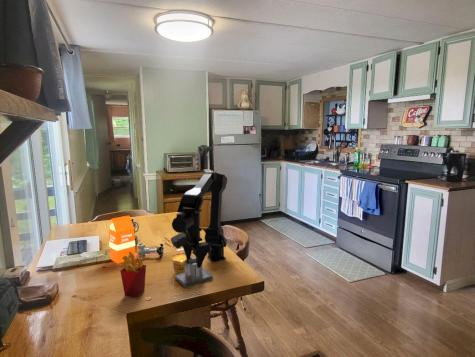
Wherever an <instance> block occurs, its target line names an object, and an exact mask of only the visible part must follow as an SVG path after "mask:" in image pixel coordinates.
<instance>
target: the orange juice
mask: <svg viewBox="0 0 475 357" xmlns="http://www.w3.org/2000/svg"><path fill="white" fill-rule="evenodd" d="M108 227H109V228H108V239H109V240H108V242H109V244H108V245H109V255H110V256H109V257H110V258H111V259H110V260H111V261H113V262H115V263H116V264H122V263H124V260H123V259H122V258H123V257H124V256H127V257H128V255H130V254H129V252H131V253H132V254H133V255H134V257H135V258H136V259H137V255H136V254H137V253H136V240H135V236H136V235H135V227H134V224H133V222H132V218H131V216H130V215H125V216H119V217H113V218H111V220H110V223H109V226H108ZM130 260H131V258H130ZM131 261H132V260H131Z"/></svg>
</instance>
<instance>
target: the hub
mask: <svg viewBox="0 0 475 357" xmlns="http://www.w3.org/2000/svg"><path fill="white" fill-rule="evenodd" d="M202 268H203V264H202V265H201V267H200V268H197V263H196V257H190V258H189V259H187V258H186V259H185V260H184V273H185V277H186V278H187V279H198V278H201V277H202V275H203V271H202Z"/></svg>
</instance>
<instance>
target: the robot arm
mask: <svg viewBox="0 0 475 357" xmlns="http://www.w3.org/2000/svg"><path fill="white" fill-rule="evenodd" d="M227 184H228V177H227V176H226V175H225V173H224V174H223V173H218V172H216V171H212V170H210V171H209V170H207V171H206V170H205V171H204V172H203V175H202V177H201V178H199V180H198V182H197V183H196V185H194V187H193V188H191V189H189V190H187V191H185V193H184V194H182V197H181V199H180V202H179V205H178V207H177V213H176V217H175V218H173V220H172V222H171V227H172V230H174V232H175V233H177V234H176V235H174V236H172V237H171V238H170V242H171V244H172V247H174V248H176V249H180V248H183V251H184V255H185V258H186V260H187V259H189V258H192V254H193V255H194V257H195V258H196V263H197V268H200V267H201V265H202V266H203V262H204V260H205V259H206V257H207V259H209V260H210V261H211V262H219V261H222V259H223V260H226V258H227V257H226V256H224V255H225V251H224V250H225V249H224V248H227V244H228V242H227V241H228V240H227V238H226V237H225V235H224V232H225V231H224V229H223V226H222V225H221V218H222V217H221V216H222V199H223V193H224V191H225V190H226V187H227ZM208 189H209V190H210V192H211V193H210V194H211V200H210V217H209V225H208V227H207V228H205V230H204V231H205V233H204V241H203V238H202V237H201V232H202V231H203V227H201V222H200V221H201V218H200V217H201V215H200V213H201V212H202V209H201V208H202V206H203V203H204V195H205V194H206V193H207V192H208Z"/></svg>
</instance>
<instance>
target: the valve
mask: <svg viewBox="0 0 475 357" xmlns="http://www.w3.org/2000/svg"><path fill="white" fill-rule="evenodd" d="M164 249H165V247H164V244H163V243H159V246H158V248H150V247H146V244H145V243H144V242H140V243H137V244H136V254H137V255H136V259H138V258H140V257H141V258H143V257H145V256H146V255H150V254H151V253H152V254H154V253H157V254H158V256H159V258H163V257H162V256H164V254H165V253H164ZM146 257H147V256H146Z"/></svg>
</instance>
